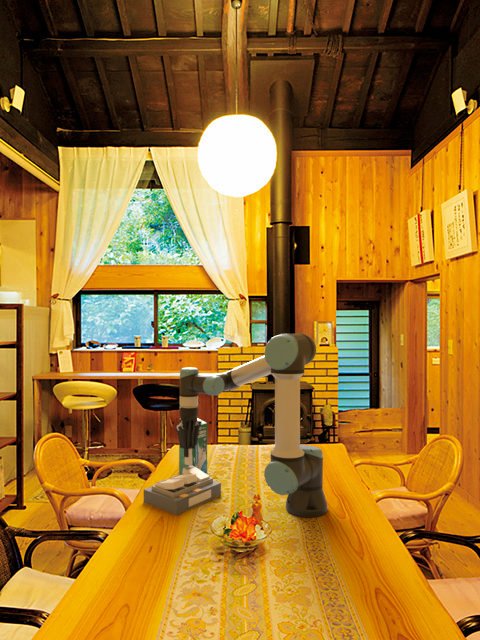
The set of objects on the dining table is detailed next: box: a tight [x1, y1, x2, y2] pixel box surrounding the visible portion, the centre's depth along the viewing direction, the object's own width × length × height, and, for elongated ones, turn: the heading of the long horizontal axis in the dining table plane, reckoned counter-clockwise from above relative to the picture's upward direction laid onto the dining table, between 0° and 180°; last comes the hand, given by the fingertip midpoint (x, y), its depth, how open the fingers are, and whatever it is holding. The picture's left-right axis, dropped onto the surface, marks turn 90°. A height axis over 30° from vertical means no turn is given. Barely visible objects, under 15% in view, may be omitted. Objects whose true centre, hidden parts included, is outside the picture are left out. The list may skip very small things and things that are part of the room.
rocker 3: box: [182, 465, 210, 482], centre depth 186 cm, size 10×5×3 cm, turn 51°
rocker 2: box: [168, 474, 197, 484], centre depth 181 cm, size 10×5×3 cm, turn 51°
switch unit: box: [143, 476, 222, 516], centre depth 181 cm, size 18×24×7 cm
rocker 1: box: [154, 478, 184, 490], centre depth 176 cm, size 10×5×3 cm, turn 51°
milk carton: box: [178, 417, 208, 475], centre depth 211 cm, size 9×9×25 cm
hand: (188, 464), depth 189 cm, fingers closed
